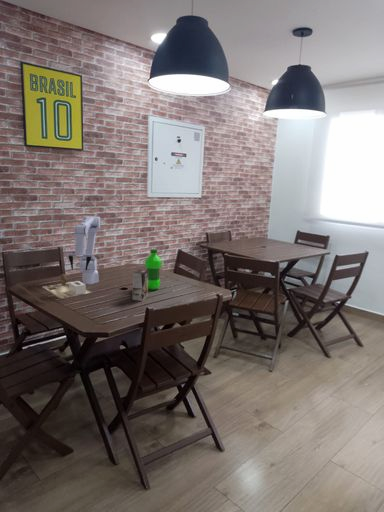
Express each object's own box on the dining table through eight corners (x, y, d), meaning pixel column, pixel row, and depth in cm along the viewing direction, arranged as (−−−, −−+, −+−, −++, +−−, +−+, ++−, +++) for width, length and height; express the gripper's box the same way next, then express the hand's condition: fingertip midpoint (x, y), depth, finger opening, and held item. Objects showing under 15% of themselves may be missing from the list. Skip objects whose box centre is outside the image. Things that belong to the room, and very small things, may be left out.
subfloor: (72, 283, 232) (72, 281, 232) (91, 294, 213) (91, 292, 213) (42, 288, 219) (42, 286, 219) (60, 300, 201) (60, 298, 200)
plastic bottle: (147, 285, 236) (148, 247, 231) (162, 287, 234) (164, 248, 229) (142, 289, 227) (142, 250, 221) (158, 291, 225) (159, 251, 219)
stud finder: (78, 288, 217) (78, 280, 216) (85, 292, 211) (85, 283, 210) (69, 290, 213) (69, 281, 212) (76, 294, 207) (75, 285, 206)
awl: (64, 284, 226) (64, 274, 225) (67, 285, 224) (66, 275, 222) (59, 284, 224) (59, 274, 222) (62, 286, 222) (61, 275, 220)
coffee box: (142, 301, 206) (143, 273, 203) (132, 299, 208) (132, 272, 204) (148, 296, 215) (148, 269, 212) (137, 295, 216) (138, 268, 213)
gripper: (67, 245, 203) (65, 269, 203) (93, 246, 208) (92, 270, 208) (67, 245, 210) (65, 269, 210) (93, 246, 215) (91, 270, 214)
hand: (79, 269), depth 209 cm, fingers open, 7 cm apart
